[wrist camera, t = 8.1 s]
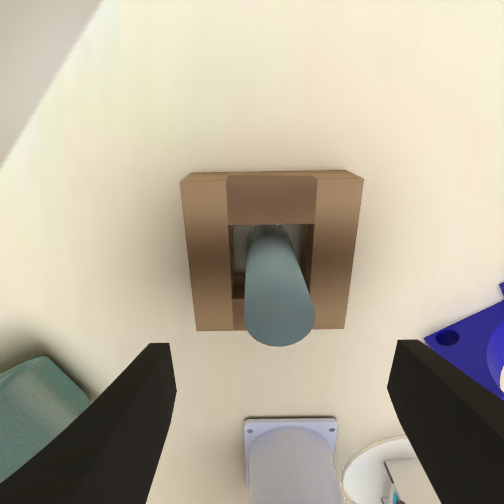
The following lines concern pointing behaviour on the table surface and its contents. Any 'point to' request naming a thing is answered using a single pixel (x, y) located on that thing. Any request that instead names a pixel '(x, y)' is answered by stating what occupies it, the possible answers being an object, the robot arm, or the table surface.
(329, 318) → the open cardboard frame
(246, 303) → the blue-gray dowel
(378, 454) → the white tower device
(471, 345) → the blue cradle bracket
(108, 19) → the table surface
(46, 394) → the flower pot
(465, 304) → the table surface
